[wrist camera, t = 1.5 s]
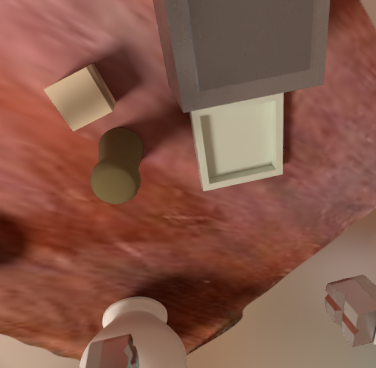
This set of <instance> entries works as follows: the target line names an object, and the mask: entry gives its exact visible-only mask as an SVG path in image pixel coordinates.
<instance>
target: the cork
mask: <svg viewBox="0 0 376 368" xmlns="http://www.w3.org/2000/svg"><path fill="white" fill-rule="evenodd" d="M143 151H144V147H143V143H142V141H141V139H140V137H139V136H138V135H137V134H136V133H135V132H133V131H131V130H129V129H126V128H114V129H111V130H109V131H107V132H106V133H105V134H104V135H103V136H102V137H101V139H100V142H99V163H98V164H97V165H96V166H95V167H94V169H93V172H92V174H91V186H92V189H93V191H94V193H95V194H96V195H97V197H99V198H100V199H102V200H103V201H105V202H108V203H112V204H119V203H124V202H127V201H129V200H131V199H132V198H133V197H134V196H135V195H136V193H137V191H138V189H139V188H140V181H141V178H140V174H139V171H138V168H139V165H140V162H141V159H142V156H143Z"/></svg>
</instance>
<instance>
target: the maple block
mask: <svg viewBox="0 0 376 368" xmlns="http://www.w3.org/2000/svg"><path fill="white" fill-rule="evenodd" d="M44 91H45V92H46V93H47V95H48V96H49V98H50V99H51V101H52V102H53V103H54V105H55V106H56V108H57V109H58V111H59V112H60V113H61V115H62V116H63V118H64V119H65V120H66V122H67V123H68V125H69V126H70V128H71V129H72V130H73V131H75V130H77V129H79V128H81V127H83V126H85V125H87V124H89V123H91V122H93V121H95V120H97V119H99V118H101V117H103V116H105V115H107V114H109V113H111V112H112V111H113V109H114V106H115V104H116V101H115V99H114V98H113V96H112V94H111V92H110V91H109V89H108V87H107V85H106V84H105V82H104V80H103V79H102V77H101V75H100V73H99V72H98V70H97V68H96V67H95V65H94V63H92V64H90V65H88V66H86V67H84V68H83V69H81V70H79V71H77V72H75V73H73V74H71V75H69V76H67V77H65V78H63V79H62V80H60V81H58V82H56V83H54V84H52V85H51V86H49V87H47V88H45V89H44Z"/></svg>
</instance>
